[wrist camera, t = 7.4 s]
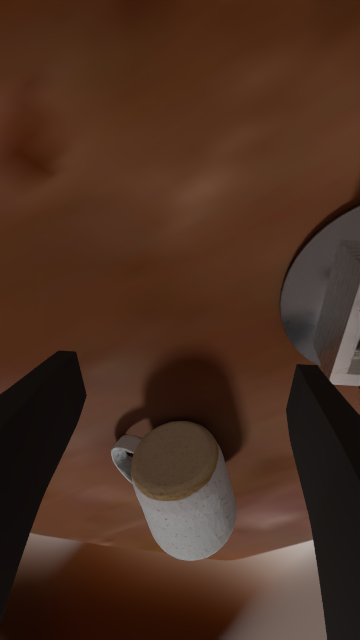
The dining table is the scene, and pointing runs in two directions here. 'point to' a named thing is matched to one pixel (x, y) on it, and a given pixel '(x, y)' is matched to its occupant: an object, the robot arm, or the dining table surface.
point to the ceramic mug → (180, 487)
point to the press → (327, 299)
